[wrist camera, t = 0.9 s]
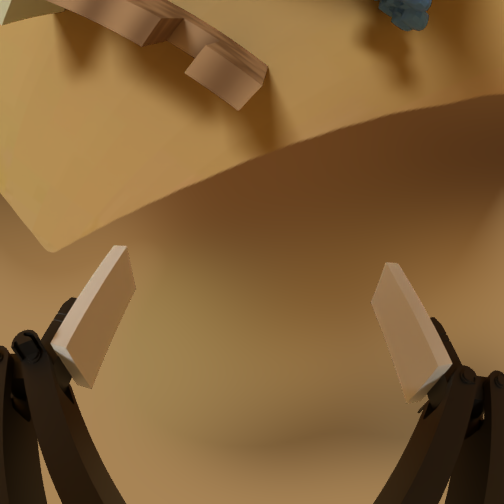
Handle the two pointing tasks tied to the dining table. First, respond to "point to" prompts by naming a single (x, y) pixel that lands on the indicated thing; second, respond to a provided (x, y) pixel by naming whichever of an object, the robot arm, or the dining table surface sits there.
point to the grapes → (407, 13)
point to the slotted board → (181, 42)
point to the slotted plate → (25, 9)
